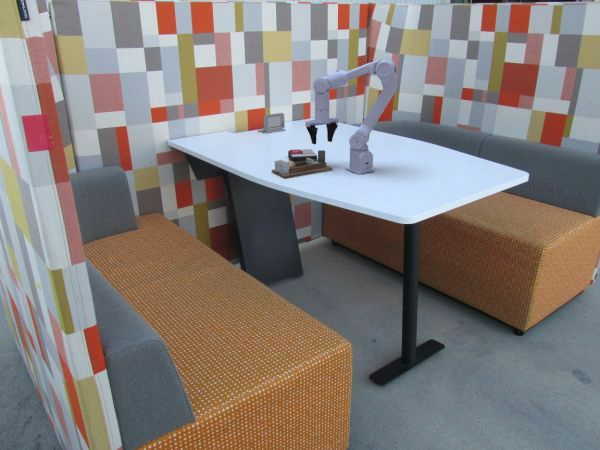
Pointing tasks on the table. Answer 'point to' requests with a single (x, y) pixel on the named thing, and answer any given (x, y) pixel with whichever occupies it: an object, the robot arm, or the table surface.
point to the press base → (304, 169)
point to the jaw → (320, 158)
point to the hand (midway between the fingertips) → (321, 142)
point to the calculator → (301, 155)
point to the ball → (291, 164)
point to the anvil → (282, 167)
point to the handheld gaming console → (273, 123)
